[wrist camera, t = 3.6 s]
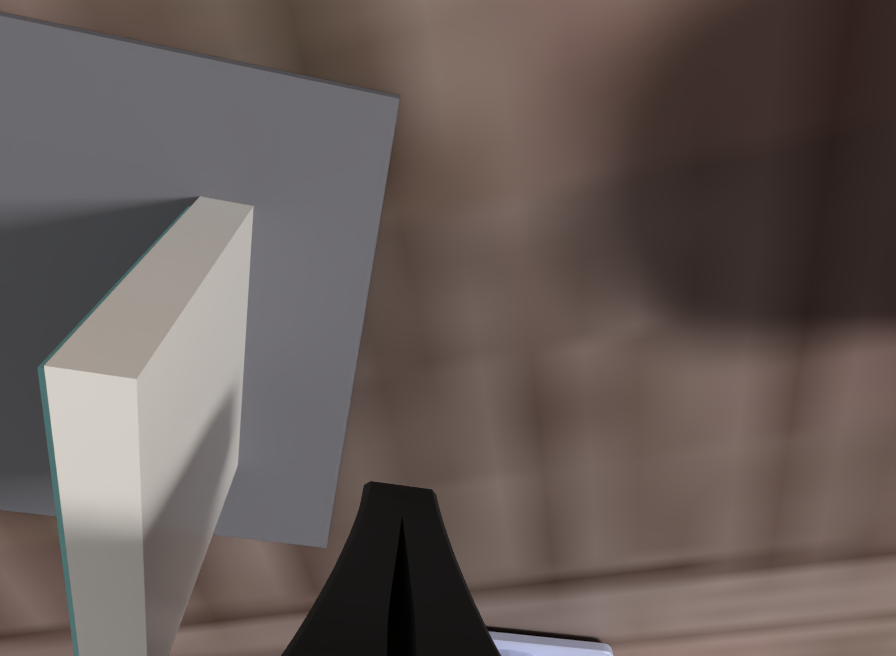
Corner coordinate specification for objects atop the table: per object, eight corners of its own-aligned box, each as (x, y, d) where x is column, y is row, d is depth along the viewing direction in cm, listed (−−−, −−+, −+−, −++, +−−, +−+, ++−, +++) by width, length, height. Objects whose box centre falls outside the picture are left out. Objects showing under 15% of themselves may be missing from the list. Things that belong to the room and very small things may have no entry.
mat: (328, 537, 21) (326, 547, 21) (-110, 486, 19) (-119, 495, 19) (400, 95, 14) (399, 99, 14) (-265, -44, 13) (-285, -44, 12)
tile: (237, 465, 19) (149, 708, 13) (187, 459, 19) (74, 703, 13) (253, 206, 15) (136, 379, 9) (190, 194, 15) (28, 363, 9)
